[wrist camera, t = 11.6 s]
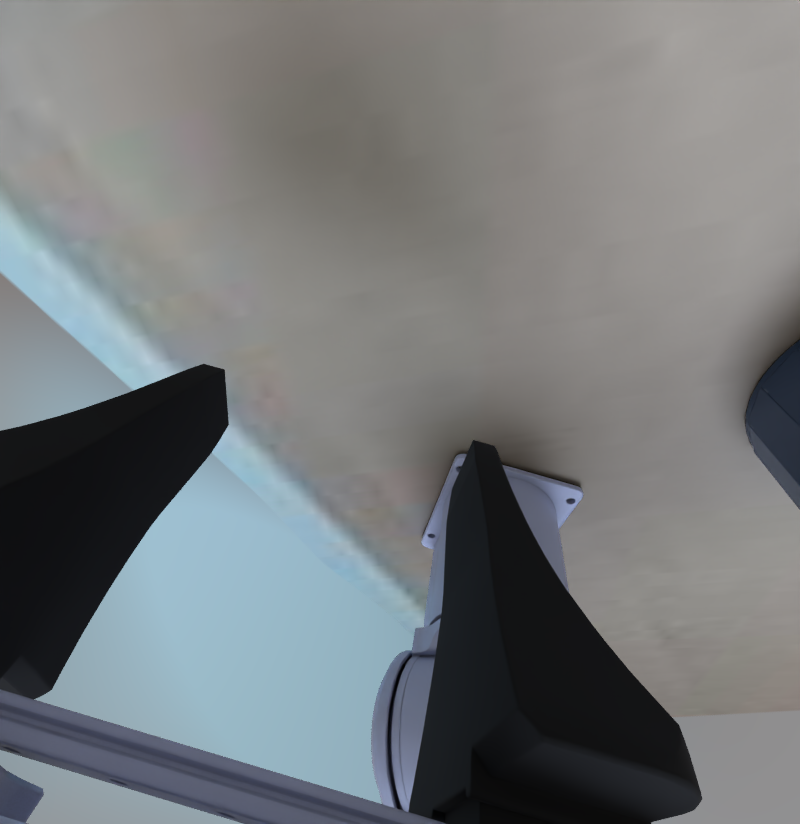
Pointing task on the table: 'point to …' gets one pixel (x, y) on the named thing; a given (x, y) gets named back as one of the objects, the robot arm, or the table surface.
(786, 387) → the tin
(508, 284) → the table surface
